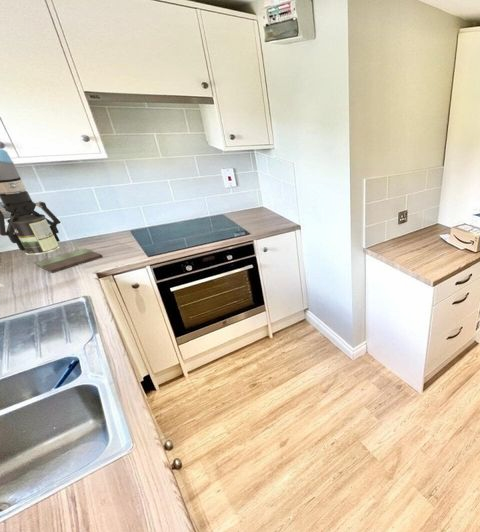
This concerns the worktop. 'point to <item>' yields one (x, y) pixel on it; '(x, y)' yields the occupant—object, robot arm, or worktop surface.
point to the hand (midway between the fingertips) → (40, 245)
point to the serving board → (68, 260)
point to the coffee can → (34, 234)
